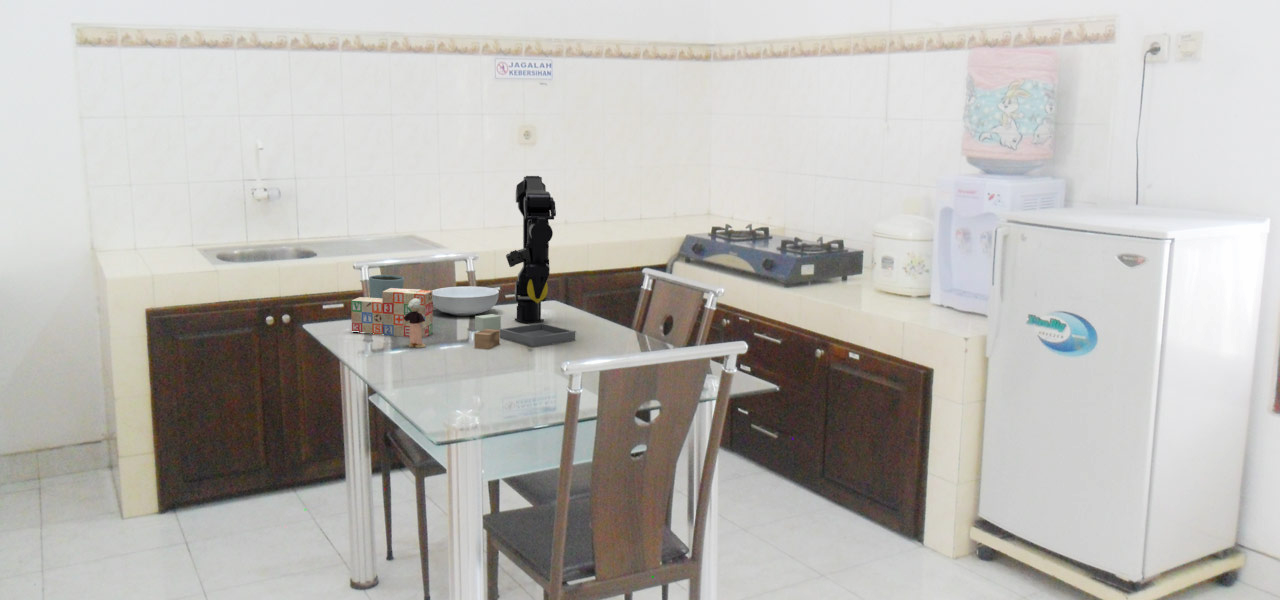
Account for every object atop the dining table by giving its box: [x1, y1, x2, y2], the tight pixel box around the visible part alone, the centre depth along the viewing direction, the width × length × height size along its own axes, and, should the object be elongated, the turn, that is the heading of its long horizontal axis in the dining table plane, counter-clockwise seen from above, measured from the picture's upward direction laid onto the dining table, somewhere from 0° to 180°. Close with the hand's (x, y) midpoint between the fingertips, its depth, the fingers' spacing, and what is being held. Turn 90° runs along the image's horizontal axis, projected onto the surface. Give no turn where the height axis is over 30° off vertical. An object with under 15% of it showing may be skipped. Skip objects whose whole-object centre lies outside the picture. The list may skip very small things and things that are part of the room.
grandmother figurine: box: [403, 298, 426, 349], centre depth 281 cm, size 8×4×13 cm, turn 71°
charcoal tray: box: [500, 322, 576, 348], centre depth 295 cm, size 15×15×2 cm
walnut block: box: [474, 329, 501, 350], centre depth 285 cm, size 7×4×4 cm, turn 163°
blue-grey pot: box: [368, 274, 405, 298], centre depth 320 cm, size 10×10×12 cm
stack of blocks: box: [350, 288, 434, 339], centre depth 297 cm, size 21×6×12 cm, turn 81°
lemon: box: [527, 279, 549, 303], centre depth 293 cm, size 6×6×8 cm
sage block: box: [474, 313, 502, 332], centre depth 306 cm, size 6×4×4 cm, turn 131°
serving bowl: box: [431, 285, 500, 317], centre depth 330 cm, size 21×21×7 cm
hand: (537, 296), depth 293 cm, fingers closed on lemon, 5 cm apart
